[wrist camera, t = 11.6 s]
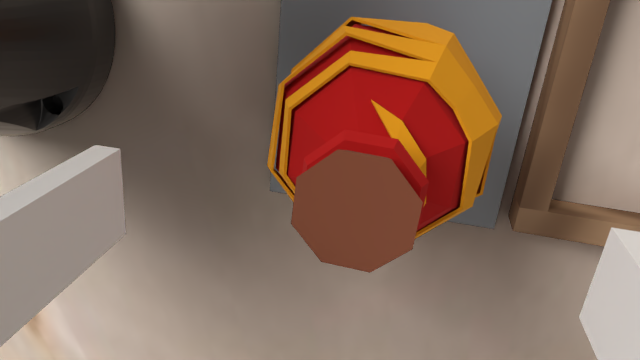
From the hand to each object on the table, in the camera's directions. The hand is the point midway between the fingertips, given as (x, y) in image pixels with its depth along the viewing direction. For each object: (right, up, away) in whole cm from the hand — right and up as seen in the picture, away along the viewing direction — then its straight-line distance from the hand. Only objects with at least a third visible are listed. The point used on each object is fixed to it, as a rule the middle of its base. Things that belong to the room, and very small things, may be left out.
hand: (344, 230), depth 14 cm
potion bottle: (+3, +6, +16) cm, 17 cm away
